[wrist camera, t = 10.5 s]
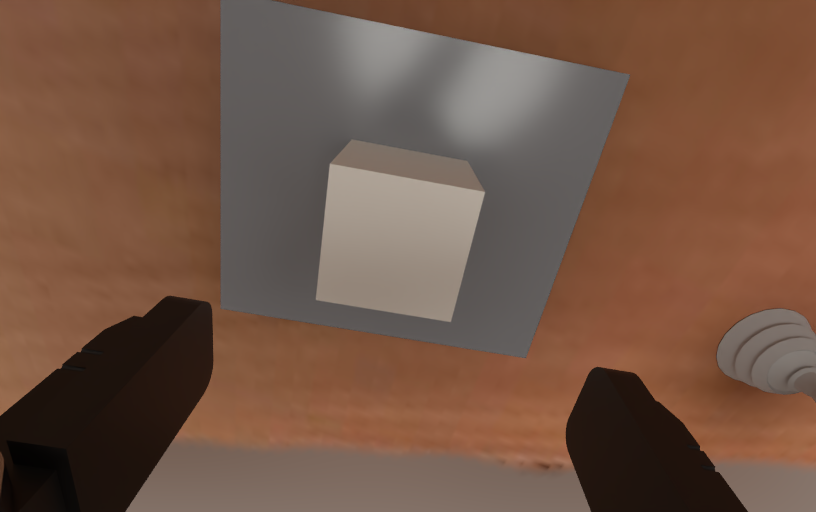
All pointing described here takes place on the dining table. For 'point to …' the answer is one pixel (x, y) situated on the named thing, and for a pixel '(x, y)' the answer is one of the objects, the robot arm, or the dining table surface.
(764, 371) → the chalice
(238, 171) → the slate board
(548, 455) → the dining table surface
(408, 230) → the cube
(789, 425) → the dining table surface
